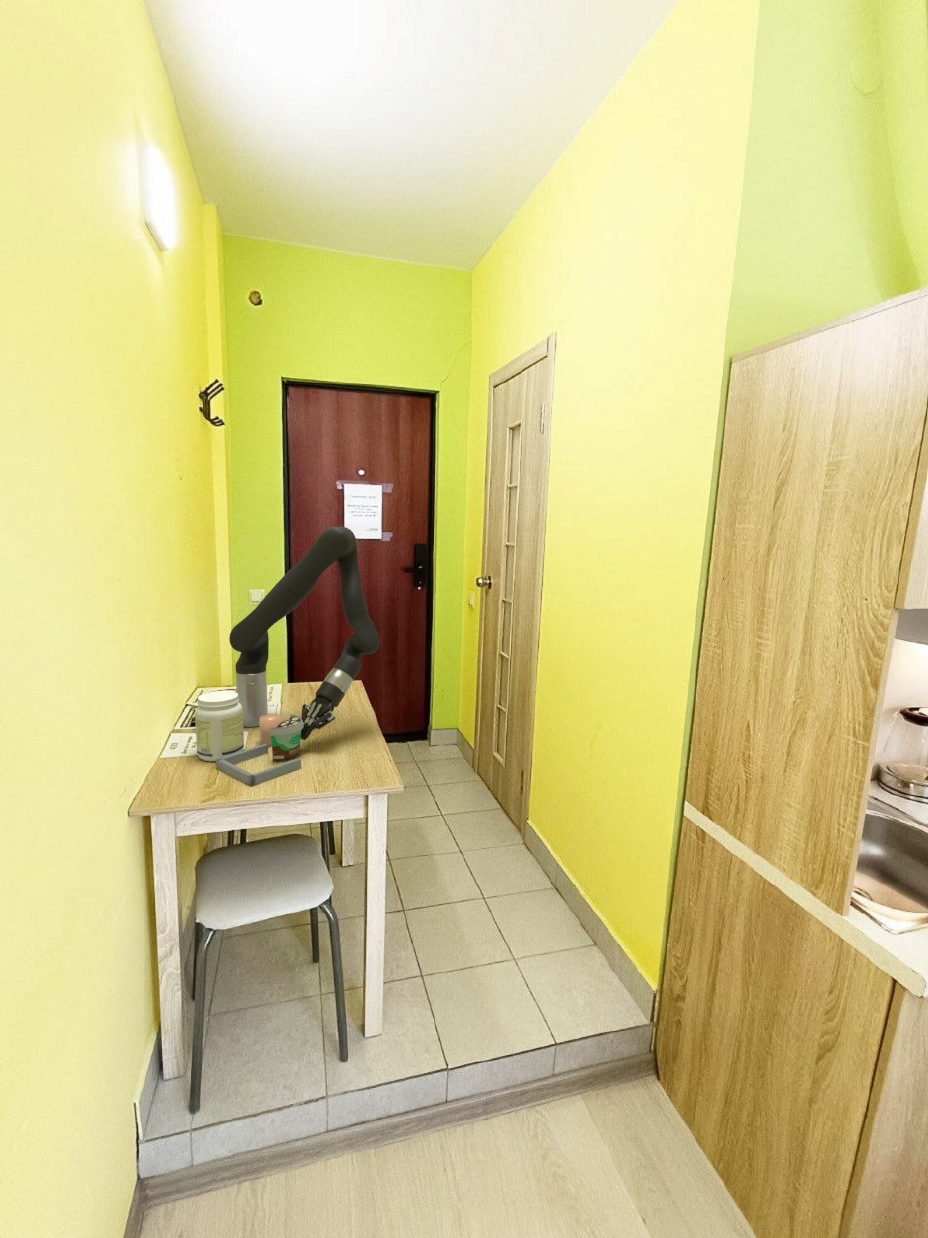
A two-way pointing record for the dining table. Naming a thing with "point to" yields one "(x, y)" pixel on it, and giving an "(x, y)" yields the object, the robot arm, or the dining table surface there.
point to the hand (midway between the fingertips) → (301, 738)
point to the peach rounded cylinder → (268, 727)
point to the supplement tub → (219, 725)
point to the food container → (287, 739)
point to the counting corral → (254, 779)
